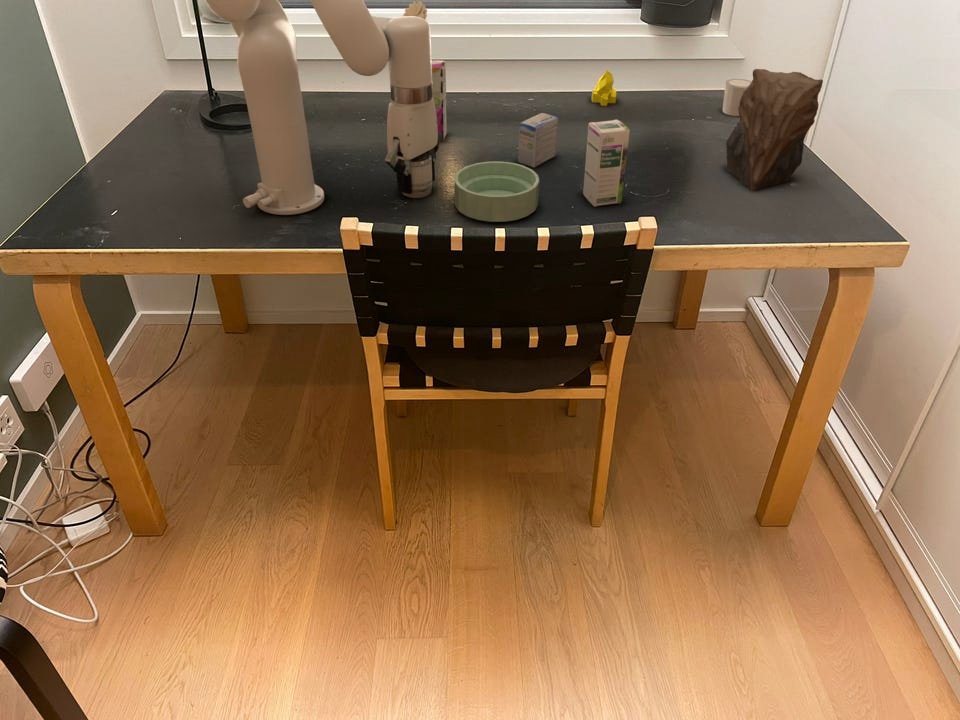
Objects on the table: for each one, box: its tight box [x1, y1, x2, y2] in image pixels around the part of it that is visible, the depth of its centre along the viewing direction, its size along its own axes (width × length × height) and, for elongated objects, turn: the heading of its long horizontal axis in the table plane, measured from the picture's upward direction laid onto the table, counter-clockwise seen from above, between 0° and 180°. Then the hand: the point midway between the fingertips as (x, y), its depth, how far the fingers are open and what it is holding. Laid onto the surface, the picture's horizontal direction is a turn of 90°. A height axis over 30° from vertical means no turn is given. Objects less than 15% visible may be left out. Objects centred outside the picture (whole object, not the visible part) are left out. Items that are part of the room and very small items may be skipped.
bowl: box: [453, 160, 540, 223], centre depth 140 cm, size 16×16×6 cm
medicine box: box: [517, 112, 559, 168], centre depth 156 cm, size 8×4×9 cm, turn 141°
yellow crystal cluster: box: [591, 69, 617, 107], centre depth 186 cm, size 6×8×8 cm
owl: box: [725, 68, 824, 192], centre depth 147 cm, size 13×13×20 cm
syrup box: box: [582, 119, 631, 208], centre depth 139 cm, size 6×6×14 cm
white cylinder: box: [722, 78, 752, 117], centre depth 180 cm, size 7×7×7 cm
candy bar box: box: [431, 59, 448, 142], centre depth 164 cm, size 11×5×16 cm, turn 84°
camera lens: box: [401, 152, 433, 199], centre depth 144 cm, size 6×6×8 cm
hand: (416, 185), depth 145 cm, fingers closed on camera lens, 6 cm apart
